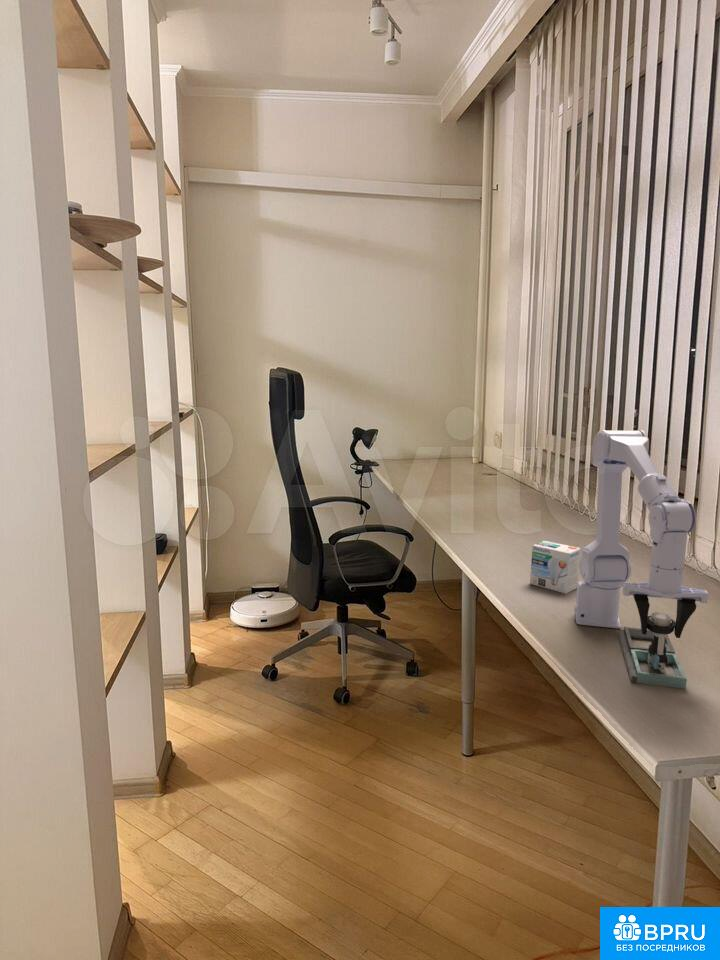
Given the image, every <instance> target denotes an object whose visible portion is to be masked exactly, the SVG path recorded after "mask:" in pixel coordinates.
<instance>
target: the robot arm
mask: <svg viewBox="0 0 720 960" xmlns="http://www.w3.org/2000/svg"><path fill="white" fill-rule="evenodd" d="M649 449H650V440H649V437H648V435H647V434H646V432H645V431H644V430H642V429H638V430H605V429H600V430H599V431H598V432H597V433H596V435H595V437H594V438H593V441H592V466H594V467H596V468H597V470H598V473H597V498H596V501H597V502H596V523H595V525H596V526H595V539H594V541H592V542H590V543H589V544H587V545H586V546H585V547H583V548H582V551H581V552H582V553H581V558H580V566H579V575H580V577H581V579H582V580H583V581H578V584H577V588H576V596H575V597H576V598H575V604H574V609H573V610H574V615H575V622H576V625H581V626H589V627H590V626H592V627H598V628H599V627H600V628H601V627H602V628H609V629H610V628H611V629H617V630H622V625H621V621H620V617H619V613H620V612H619V611H620V600H621V590H622V595H623V596H624V597H630V596H633V599H634V601H635V604H636V608H637V611H638V615H639V620H640V629H641V632H642V634H645V635H646V634H647V618H648V616H649V609H650V606H651V604H650V602H649V600H650V599H649V598H657V599H658V598H660V599H661V598H662V599H671V600H676V617H675V623H676V626H675V628H674V631H673V632H674V633H673V634H674V636H675V638H676V639H681V635H682V633H683V630H684V628H685V626H686V624H687V622H688V620H689V619H690V618H691V616H692V615H693V614H694V613H695V611H696V608H697V604H696V602H700V603H701V604H708V598H709V592H708V591H707V590H706V589H699V588H693V587H687V586H683V582H684V581H683V579H684V571H685V559H686V551H687V542H688V534H689V533H691V532H693V531H694V529H695V528H696V524H697V514H696V509H695V507H694V505H693V503H691V502H690V501H689V500H685V499H684V498H680V497H679V496H678V494H677V492H676V491H675V489H674V488H673V486H672V484H671V482H670V481H669V479H668V478H667V476H665V474H662V473H657V470H656V468H655V466H654V464H653V462H652V460H651V459H652V458H651V457H650V455H649ZM627 468H629V469H630V470H631V473H632V474H633V475H634V476H635V477H636V479H637V480H638V482H639V483H638V485H637V491H638V494H639V495H640V497H641V499H642V500H643V503H644V504H645V506H646V508H647V510H648V512H649V513H648V525H649V528H650V532H649V533H650V534H649V536H650V540H652V546H651V553H650V554H651V556H650V565H649V566H650V567H649V575H648V576H649V577H648V582H628V581H629V579H631V578H630V577H631V575H632V565H631V560H630V559H631V558H630V551H629V550H628V548H627V547H625V546H624V545H623V544H621V543H620V535H621V534H620V532H621V531H620V529H621V528H620V527H621V509H622V486H623V485H622V484H623V483H622V482H623V472H624V471H625V470H627ZM621 588H622V589H621Z"/></svg>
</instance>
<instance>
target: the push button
mask: <svg viewBox="0 0 720 960" xmlns="http://www.w3.org/2000/svg"><path fill="white" fill-rule="evenodd" d="M675 626H676V620H674V619H673V618H672V617H671V616H670V615H669V614H667V613H664V612H657V611H656V612H653V613H651V614H650V615H648V618H647V629H649V630H650V631H651V632H652V633H653V639H652V640H651V644H648V645H649V646H648V647H647V648H648V660H649V661H648V660H647V661H648V662H647V663H648V665H649V664H650V663H651V665H652V666H653V668H654V670H660V672H661V673H666V672H667V671H666V670H665V669H666V668H667V666H666V665H668V664H667V662H668V657H667V656H666V646H665V643H664V640H665V635H670V634H673V632H674V630H675Z"/></svg>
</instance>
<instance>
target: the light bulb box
mask: <svg viewBox="0 0 720 960" xmlns="http://www.w3.org/2000/svg"><path fill="white" fill-rule="evenodd" d="M531 551H532V552H531V563H530V574H529V575H530V579H529V584H530V585H534V586H537V587H541V588H543V589H544V588H545V589H547V590H548V589H549V590H552V591H555V592H559V593H562V594H566V595H567V594H568V593H570V592H572V591H574V590H577V584H578V582H579V575H580V561H581V555H582V553H581V552H582V549H581V547H577V546H572V545H567V544H564V543H563V544H562V543H558V542H553V541H549V540H543V541H540V542H537V543H536V544H535V543H534V544H533V545H532V550H531Z"/></svg>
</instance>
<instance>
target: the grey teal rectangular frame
mask: <svg viewBox="0 0 720 960" xmlns="http://www.w3.org/2000/svg"><path fill="white" fill-rule="evenodd" d="M618 638H619V643H620V646H621V649H622V653H623V657H624V661H625V665H626V669H627V671H628V676H629V680H630V683H635V684H641V685H642V684H643V685H650V686H660V687H667V688H676V689H683V690H686V689H687V682H688V679H687V676H686V673H685V671H684V669H683V667H682V664H681V662H680V660H679V657H678V655H677V653H676V651H675V648H674V647H673V644H672V642H671V640H670V636H669V634H667V635H665V640H664V643H665V646H666V656H667V657H668V662H667V665H671V666H672V669H673V671H674V674H675V675H674V674H664V673H654V672H646V671H642V670H641V666H640V664H639V661H640V662H646V663H648V661H649V660H648V648H649V647H640V646H634V643H633V640H632V639H640V640H648V641H649V640H650V641H652V639H653V633H652V632H651V631H650V630H649V629H647V634H646V635H645V634H642V632H641V627H640V628H637V627H628V626H624V627H623V629H618ZM647 660H648V661H647Z"/></svg>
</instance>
